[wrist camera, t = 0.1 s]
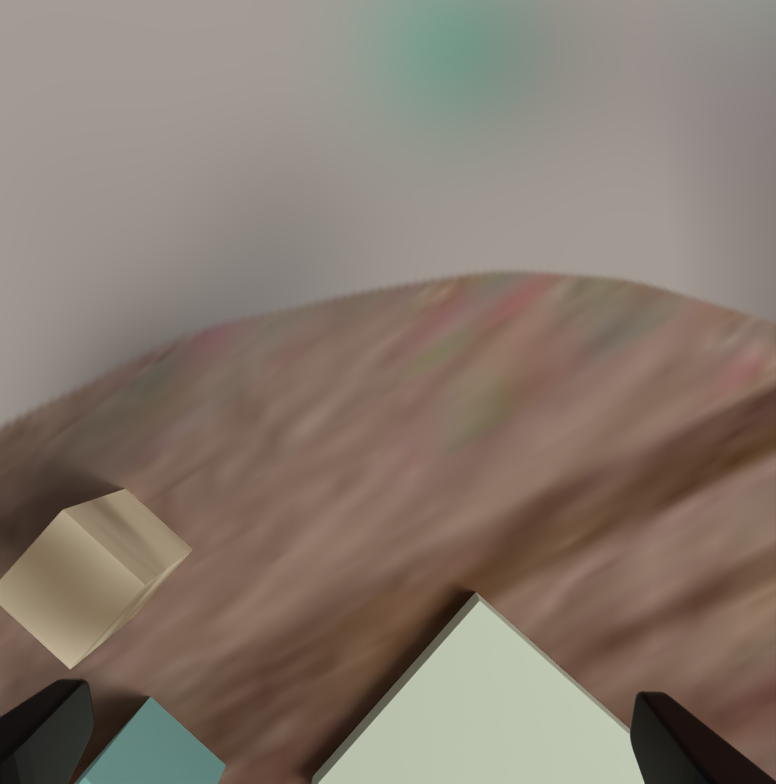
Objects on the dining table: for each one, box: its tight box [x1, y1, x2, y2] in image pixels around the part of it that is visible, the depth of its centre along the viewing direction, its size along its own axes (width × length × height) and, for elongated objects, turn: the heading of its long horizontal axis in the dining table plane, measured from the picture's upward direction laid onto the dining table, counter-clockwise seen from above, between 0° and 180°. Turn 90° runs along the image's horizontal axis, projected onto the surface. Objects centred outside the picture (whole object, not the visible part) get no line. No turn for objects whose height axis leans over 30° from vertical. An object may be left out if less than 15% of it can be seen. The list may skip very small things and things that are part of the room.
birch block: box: [0, 489, 193, 669], centre depth 21 cm, size 4×4×4 cm
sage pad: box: [311, 592, 645, 784], centre depth 22 cm, size 12×12×1 cm
